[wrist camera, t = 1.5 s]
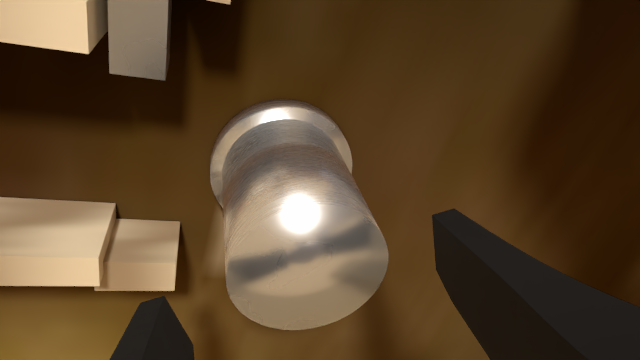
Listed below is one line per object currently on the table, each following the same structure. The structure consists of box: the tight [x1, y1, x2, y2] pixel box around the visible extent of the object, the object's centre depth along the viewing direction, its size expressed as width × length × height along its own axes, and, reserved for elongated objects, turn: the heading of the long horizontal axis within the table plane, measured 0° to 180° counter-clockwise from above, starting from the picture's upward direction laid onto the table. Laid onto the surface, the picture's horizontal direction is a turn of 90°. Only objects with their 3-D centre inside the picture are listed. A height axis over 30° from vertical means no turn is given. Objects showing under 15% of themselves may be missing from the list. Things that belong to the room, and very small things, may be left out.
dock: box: [0, 0, 231, 291], centre depth 12 cm, size 11×14×3 cm
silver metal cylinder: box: [210, 99, 388, 330], centre depth 14 cm, size 5×5×6 cm
